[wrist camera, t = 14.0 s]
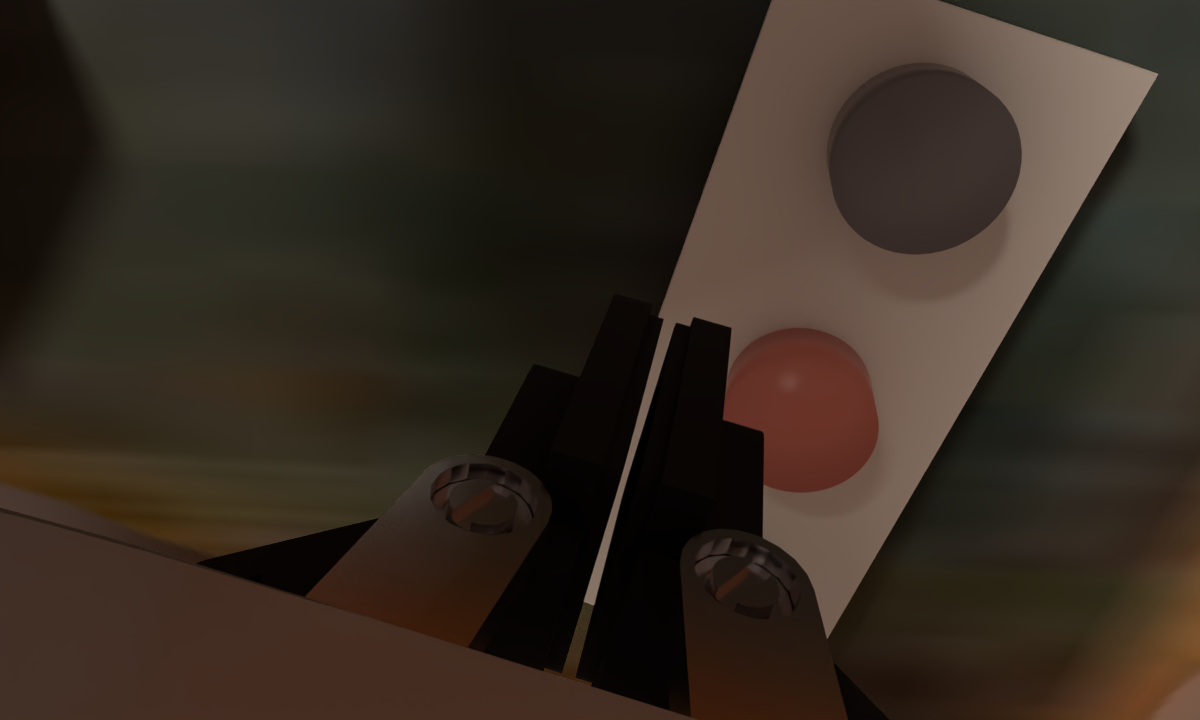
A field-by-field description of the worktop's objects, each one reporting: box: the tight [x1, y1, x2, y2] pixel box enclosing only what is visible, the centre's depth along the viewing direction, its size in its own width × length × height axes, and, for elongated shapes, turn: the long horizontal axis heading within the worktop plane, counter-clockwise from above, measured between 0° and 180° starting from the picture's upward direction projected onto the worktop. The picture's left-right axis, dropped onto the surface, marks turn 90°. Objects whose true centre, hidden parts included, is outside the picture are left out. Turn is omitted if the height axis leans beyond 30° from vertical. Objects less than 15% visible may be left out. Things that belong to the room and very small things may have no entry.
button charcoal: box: [827, 63, 1022, 255], centre depth 25 cm, size 5×5×2 cm
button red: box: [723, 328, 879, 493], centre depth 29 cm, size 5×5×2 cm
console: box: [584, 0, 1158, 639], centre depth 32 cm, size 26×11×3 cm, turn 164°
